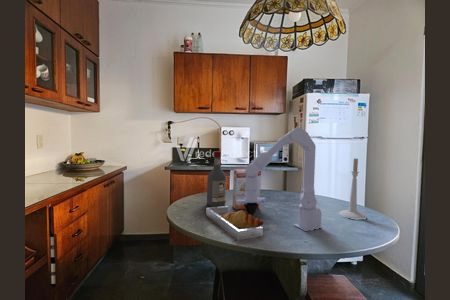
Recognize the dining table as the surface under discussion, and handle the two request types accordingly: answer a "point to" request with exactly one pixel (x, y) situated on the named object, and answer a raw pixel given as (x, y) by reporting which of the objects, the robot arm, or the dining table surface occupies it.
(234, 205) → the cracker box
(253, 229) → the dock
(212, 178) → the liquor
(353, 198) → the candlestick
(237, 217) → the croissant
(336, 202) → the dining table surface
